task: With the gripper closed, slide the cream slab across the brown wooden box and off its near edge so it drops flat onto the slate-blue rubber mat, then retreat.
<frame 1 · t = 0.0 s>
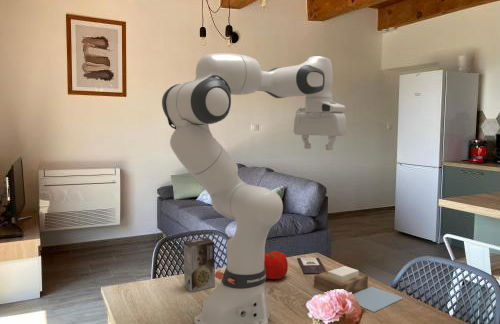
hand: (318, 149, 139), 48 cm above the table, fingers open, 8 cm apart
cream slab: (343, 276, 145), point 4 cm above the table, touching brown wooden box
tomato: (272, 277, 155), on the table
mat: (372, 299, 136), on the table
chocolate bar: (311, 267, 167), on the table
brown wooden box: (340, 287, 146), on the table
coffee box: (199, 287, 146), on the table
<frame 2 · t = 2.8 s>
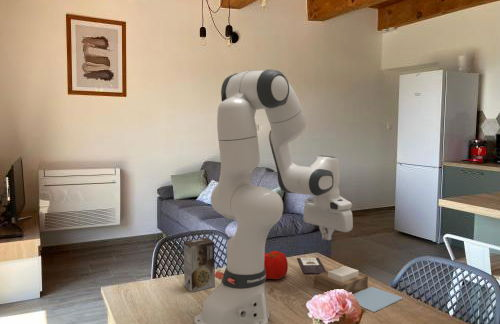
hand: (326, 239, 150), 15 cm above the table, fingers closed
nothing on the table moved.
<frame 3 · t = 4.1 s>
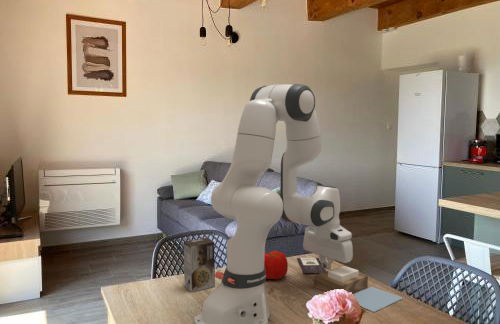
hand: (326, 268, 150), 5 cm above the table, fingers closed
nothing on the table moved.
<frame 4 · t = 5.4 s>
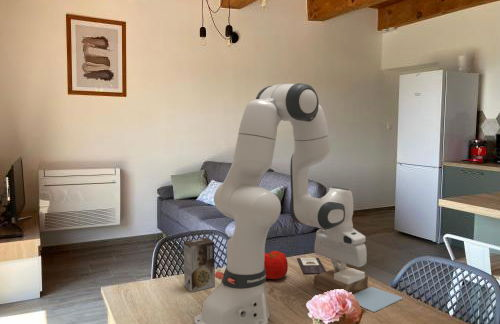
hand: (338, 272, 146), 5 cm above the table, fingers closed
cream slab: (349, 278, 143), point 4 cm above the table, touching brown wooden box
everything else where it was.
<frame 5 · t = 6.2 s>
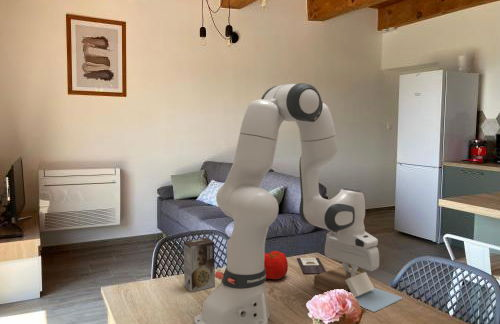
hand: (350, 276, 142), 5 cm above the table, fingers closed
cream slab: (357, 285, 140), point 3 cm above the table, tilted 52°, touching brown wooden box, gripper, mat
everything else where it was.
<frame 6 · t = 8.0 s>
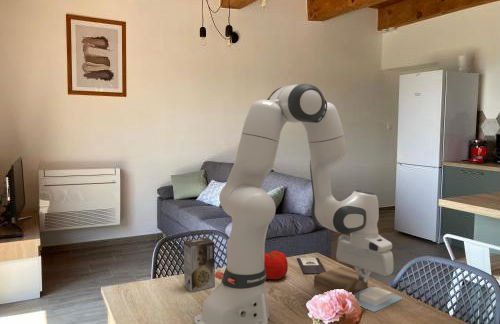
hand: (362, 280, 138), 5 cm above the table, fingers closed
cream slab: (375, 293, 135), point 2 cm above the table, tilted 180°, touching mat
everything else where it was.
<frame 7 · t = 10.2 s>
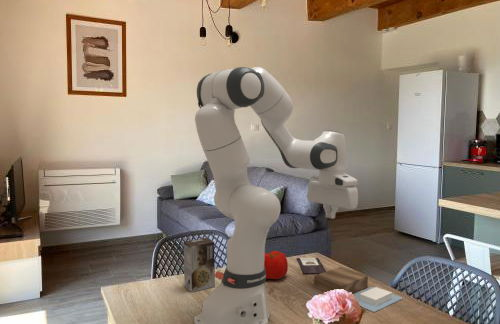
hand: (330, 217, 146), 24 cm above the table, fingers closed
nothing on the table moved.
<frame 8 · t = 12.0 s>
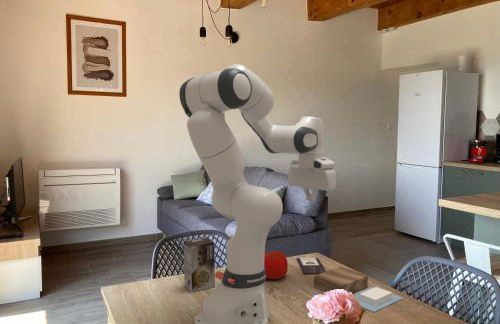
hand: (310, 200, 151), 29 cm above the table, fingers closed
nothing on the table moved.
at the end: cream slab point 2.3 cm above the table; cream slab inside the target area (0.8 cm from its centre), point 2.3 cm above the table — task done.
